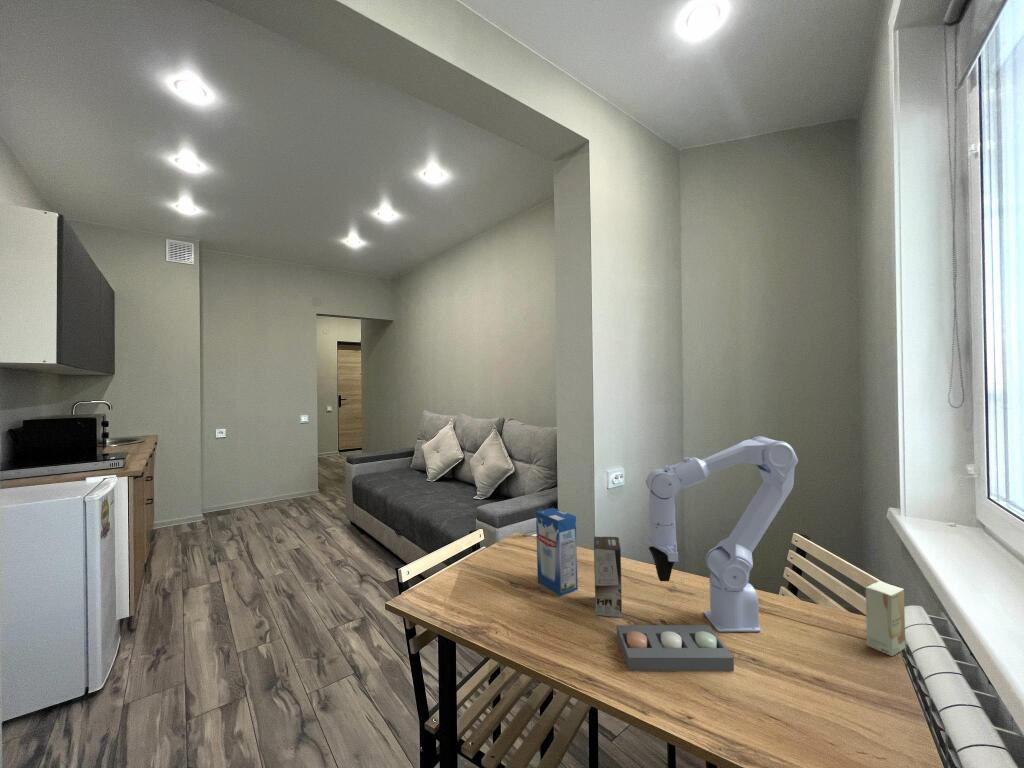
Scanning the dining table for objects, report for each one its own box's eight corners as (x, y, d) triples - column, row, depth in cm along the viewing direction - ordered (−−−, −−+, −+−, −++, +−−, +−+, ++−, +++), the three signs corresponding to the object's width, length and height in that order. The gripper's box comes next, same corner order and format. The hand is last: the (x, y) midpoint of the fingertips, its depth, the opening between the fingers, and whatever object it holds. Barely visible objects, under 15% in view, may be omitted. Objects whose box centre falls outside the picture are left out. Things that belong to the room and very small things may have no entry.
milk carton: (577, 590, 114) (576, 516, 114) (560, 596, 110) (558, 520, 110) (554, 576, 122) (553, 507, 122) (537, 582, 119) (535, 511, 119)
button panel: (709, 636, 92) (709, 625, 92) (734, 670, 81) (733, 657, 81) (616, 636, 92) (616, 625, 92) (628, 670, 81) (628, 657, 81)
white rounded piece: (677, 645, 88) (677, 631, 88) (684, 657, 84) (684, 642, 84) (658, 645, 89) (658, 631, 89) (664, 657, 85) (664, 642, 85)
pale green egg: (711, 645, 88) (711, 631, 88) (720, 658, 84) (719, 643, 84) (692, 645, 88) (691, 631, 88) (700, 657, 84) (699, 643, 84)
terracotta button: (644, 645, 89) (643, 631, 89) (649, 657, 85) (649, 642, 85) (625, 645, 89) (624, 631, 89) (629, 657, 85) (629, 642, 85)
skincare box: (892, 657, 83) (890, 596, 83) (865, 646, 87) (864, 587, 87) (907, 647, 86) (905, 588, 86) (880, 636, 90) (879, 579, 90)
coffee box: (622, 617, 100) (621, 550, 100) (595, 615, 101) (593, 548, 101) (620, 598, 109) (619, 536, 109) (595, 596, 110) (593, 535, 110)
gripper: (637, 512, 106) (638, 566, 106) (654, 532, 91) (655, 595, 91) (665, 512, 106) (666, 566, 106) (687, 532, 91) (688, 595, 91)
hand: (663, 579), depth 98 cm, fingers closed
